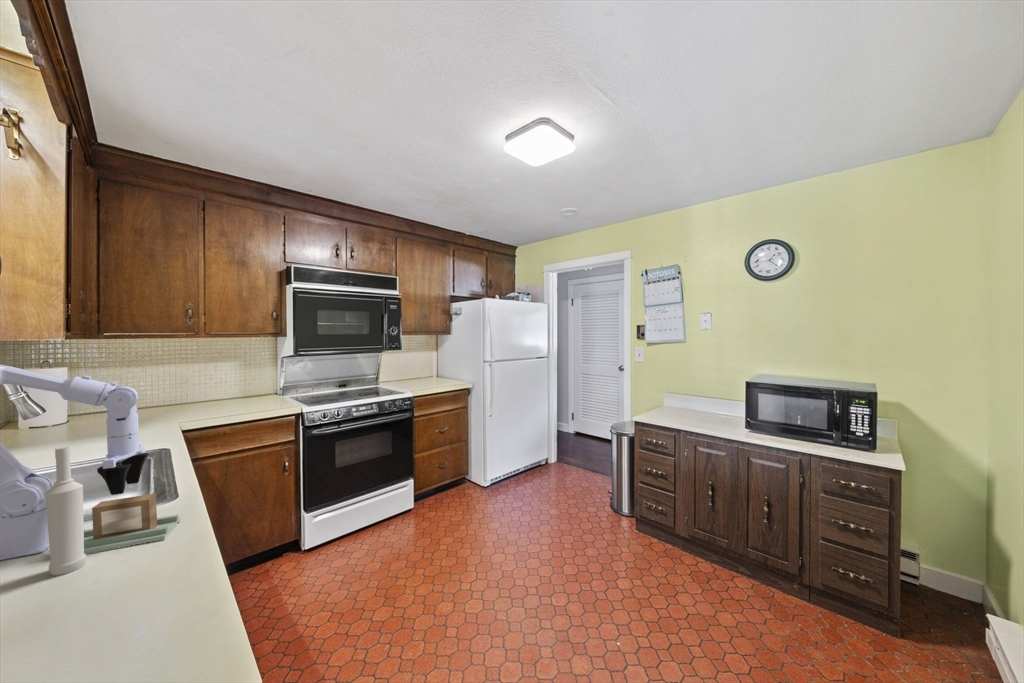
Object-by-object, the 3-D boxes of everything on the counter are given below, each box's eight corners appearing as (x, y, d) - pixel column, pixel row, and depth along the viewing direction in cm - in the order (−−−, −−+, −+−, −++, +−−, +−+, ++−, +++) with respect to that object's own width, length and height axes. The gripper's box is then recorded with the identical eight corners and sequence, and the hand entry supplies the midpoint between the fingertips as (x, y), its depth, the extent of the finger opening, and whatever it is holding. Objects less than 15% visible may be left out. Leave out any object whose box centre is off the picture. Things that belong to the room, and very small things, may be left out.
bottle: (61, 577, 79) (55, 452, 78) (41, 575, 80) (35, 451, 79) (93, 562, 84) (88, 444, 83) (74, 560, 85) (69, 443, 84)
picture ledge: (58, 559, 85) (58, 549, 85) (85, 537, 95) (84, 528, 94) (164, 539, 93) (164, 530, 93) (180, 521, 102) (179, 513, 102)
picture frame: (93, 543, 90) (91, 508, 90) (102, 535, 94) (101, 501, 93) (150, 533, 94) (148, 499, 94) (157, 525, 98) (155, 493, 98)
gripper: (129, 439, 95) (131, 496, 95) (156, 426, 108) (158, 476, 108) (89, 443, 92) (92, 501, 92) (122, 429, 105) (124, 480, 105)
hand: (125, 488), depth 100 cm, fingers open, 7 cm apart
